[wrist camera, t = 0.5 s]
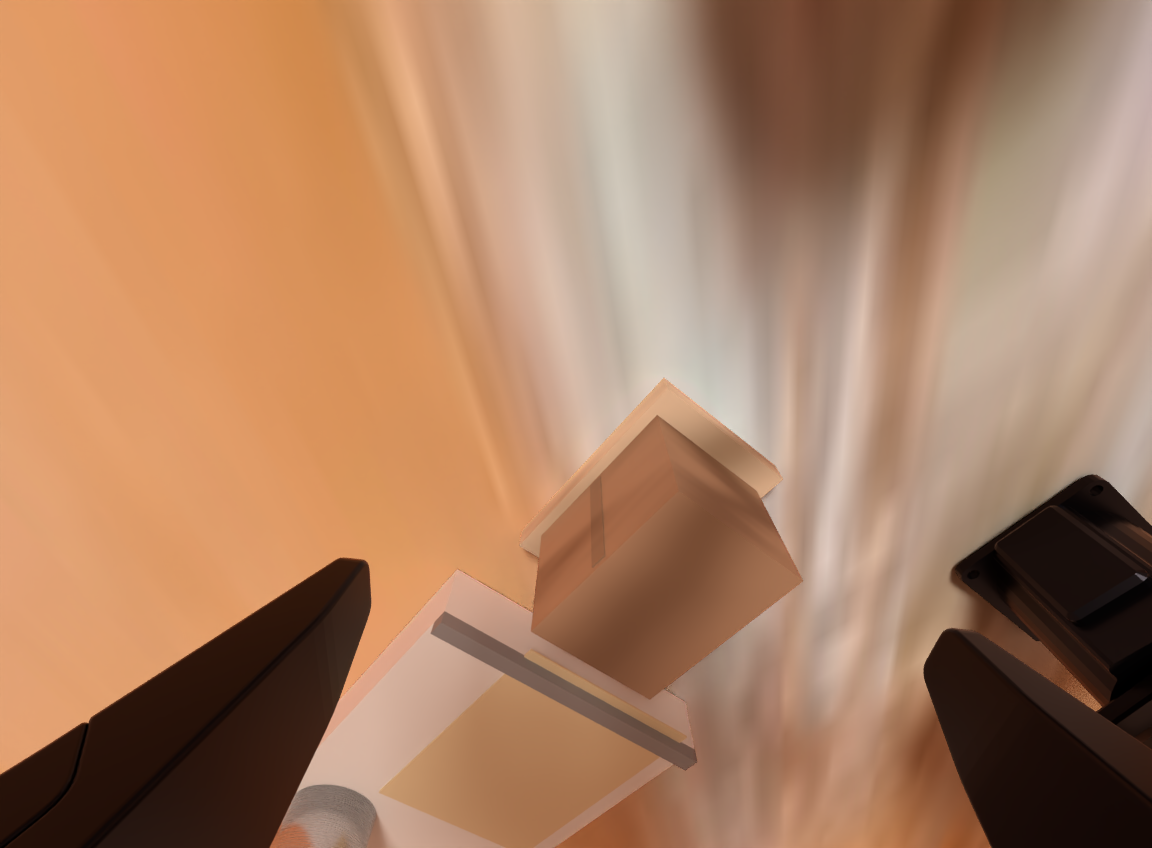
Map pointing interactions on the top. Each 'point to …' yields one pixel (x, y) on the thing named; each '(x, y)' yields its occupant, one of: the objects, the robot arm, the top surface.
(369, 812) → the canister
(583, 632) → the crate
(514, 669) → the dock
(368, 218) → the top surface
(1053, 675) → the top surface
